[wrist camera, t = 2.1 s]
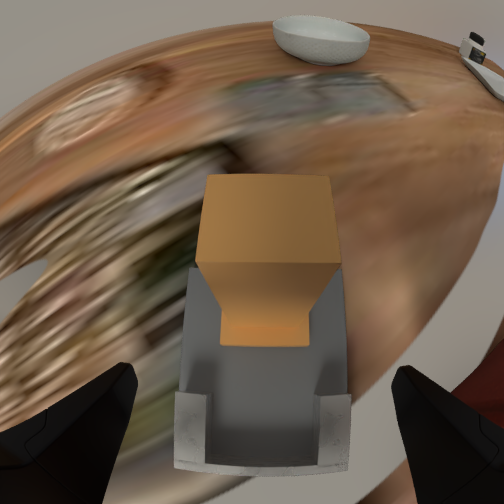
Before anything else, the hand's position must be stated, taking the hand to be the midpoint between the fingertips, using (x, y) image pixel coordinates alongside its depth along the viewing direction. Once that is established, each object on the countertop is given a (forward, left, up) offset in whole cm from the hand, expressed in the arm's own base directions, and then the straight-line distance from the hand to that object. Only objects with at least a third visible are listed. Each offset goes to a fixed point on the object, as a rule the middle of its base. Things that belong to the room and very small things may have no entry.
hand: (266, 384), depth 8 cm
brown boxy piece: (+6, -6, -11) cm, 14 cm away
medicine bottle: (+9, -113, -12) cm, 114 cm away
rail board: (+1, -1, -12) cm, 12 cm away
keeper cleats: (-3, +3, -11) cm, 12 cm away
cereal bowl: (+28, -42, -12) cm, 52 cm away
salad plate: (-4, -95, -12) cm, 96 cm away
